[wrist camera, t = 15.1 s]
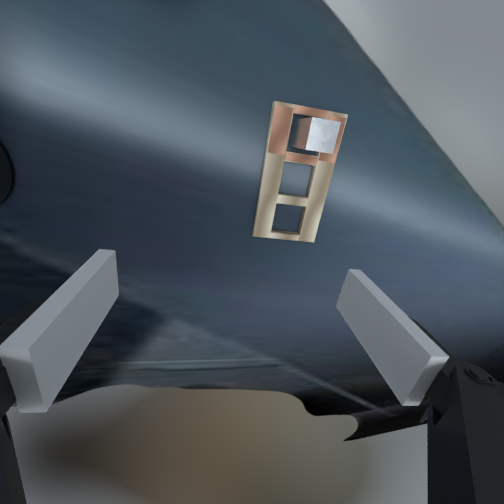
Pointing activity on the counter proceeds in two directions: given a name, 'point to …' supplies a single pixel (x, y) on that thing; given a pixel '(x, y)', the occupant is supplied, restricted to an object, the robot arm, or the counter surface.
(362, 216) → the counter surface
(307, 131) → the steel peg
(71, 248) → the counter surface
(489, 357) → the counter surface
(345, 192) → the counter surface
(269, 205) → the hole rail
